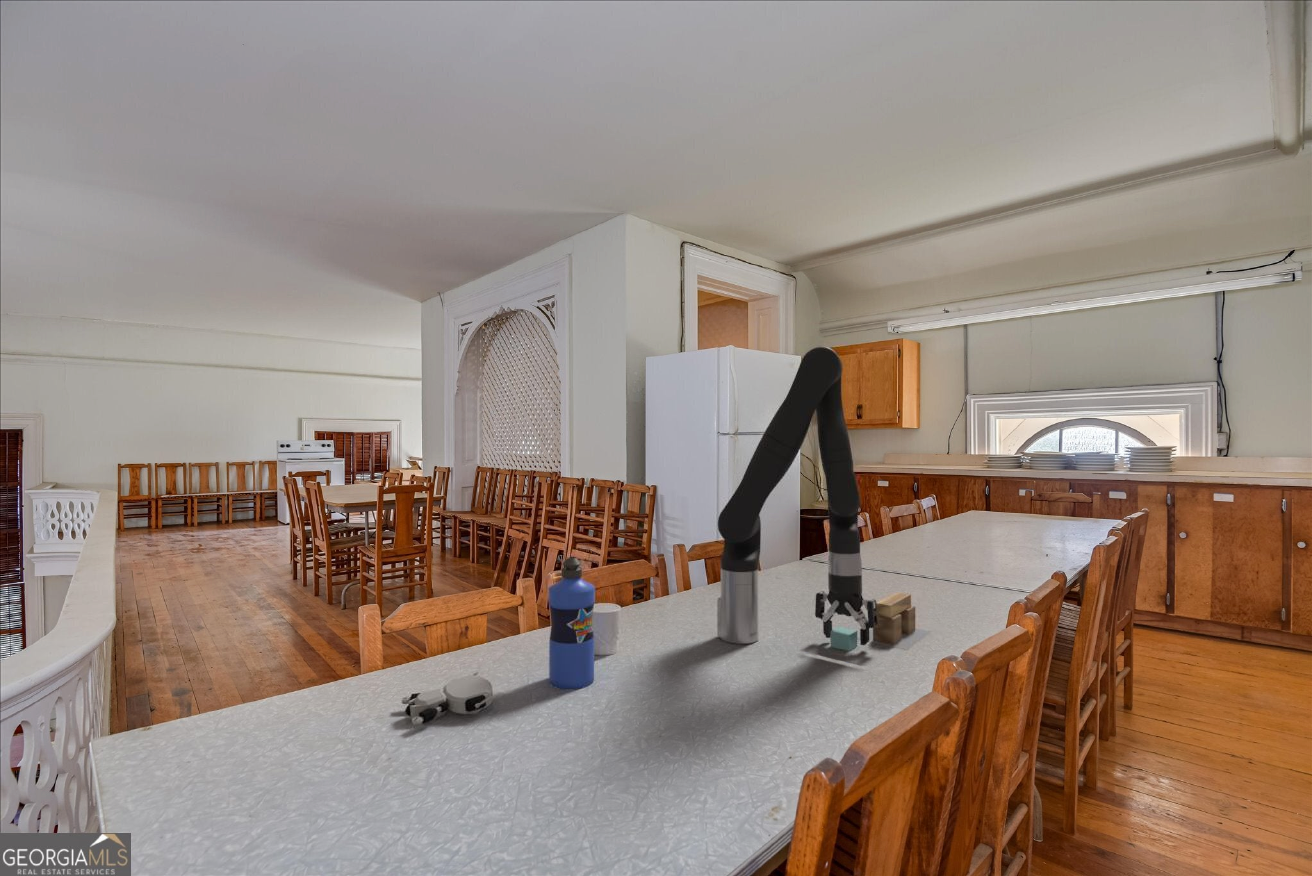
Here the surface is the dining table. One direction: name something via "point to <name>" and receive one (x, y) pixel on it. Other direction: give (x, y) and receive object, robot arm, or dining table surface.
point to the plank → (893, 605)
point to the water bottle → (571, 629)
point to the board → (903, 639)
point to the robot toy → (450, 699)
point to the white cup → (606, 628)
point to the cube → (844, 638)
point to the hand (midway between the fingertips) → (846, 640)
